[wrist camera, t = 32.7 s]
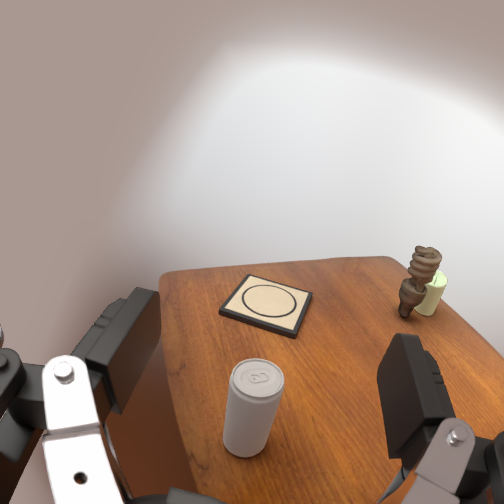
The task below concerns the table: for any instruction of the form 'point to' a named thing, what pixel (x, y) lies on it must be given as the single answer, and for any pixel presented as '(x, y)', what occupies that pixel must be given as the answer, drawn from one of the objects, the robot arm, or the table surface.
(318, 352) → the table surface
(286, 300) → the black and cream coaster
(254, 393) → the beverage can
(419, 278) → the light bulb
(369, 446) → the table surface
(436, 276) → the candle
